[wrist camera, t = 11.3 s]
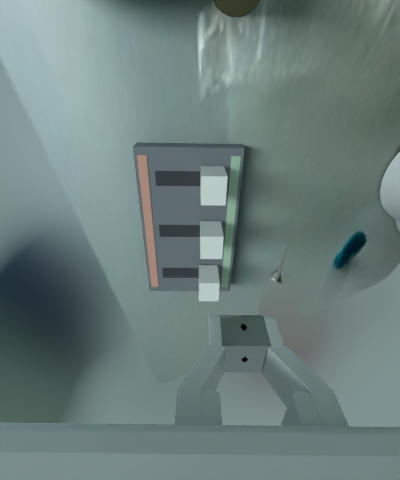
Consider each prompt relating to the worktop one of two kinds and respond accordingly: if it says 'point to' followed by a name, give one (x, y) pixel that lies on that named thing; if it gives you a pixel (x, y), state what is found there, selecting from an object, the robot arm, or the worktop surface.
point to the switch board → (184, 210)
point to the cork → (236, 6)
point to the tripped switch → (211, 240)
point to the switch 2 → (208, 283)
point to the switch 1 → (213, 185)
